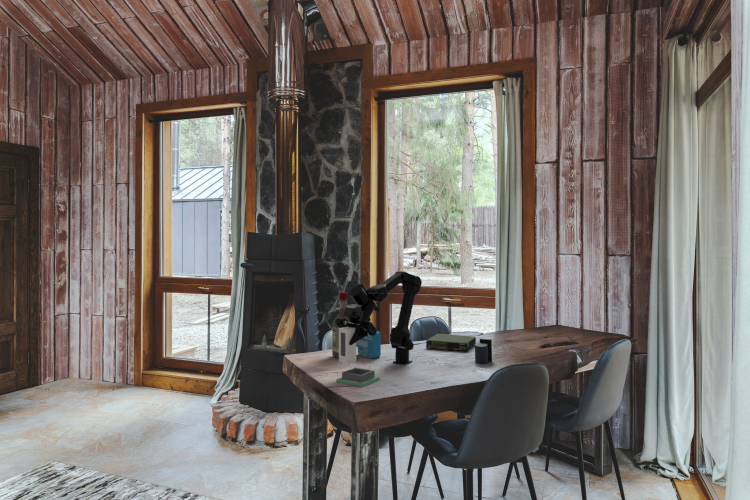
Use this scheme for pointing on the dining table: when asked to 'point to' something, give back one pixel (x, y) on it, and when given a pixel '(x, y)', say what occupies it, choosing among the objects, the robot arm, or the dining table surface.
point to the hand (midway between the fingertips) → (345, 343)
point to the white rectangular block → (346, 345)
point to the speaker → (483, 351)
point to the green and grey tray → (358, 377)
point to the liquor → (335, 328)
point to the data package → (370, 346)
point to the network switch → (451, 342)
